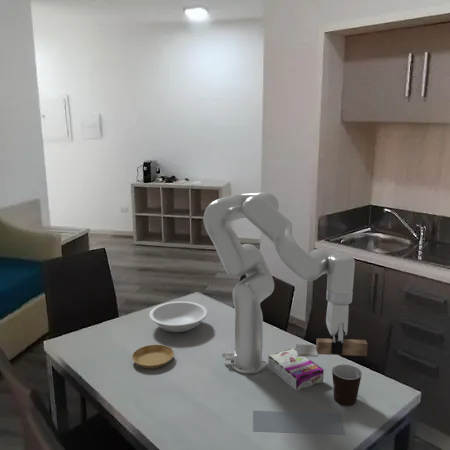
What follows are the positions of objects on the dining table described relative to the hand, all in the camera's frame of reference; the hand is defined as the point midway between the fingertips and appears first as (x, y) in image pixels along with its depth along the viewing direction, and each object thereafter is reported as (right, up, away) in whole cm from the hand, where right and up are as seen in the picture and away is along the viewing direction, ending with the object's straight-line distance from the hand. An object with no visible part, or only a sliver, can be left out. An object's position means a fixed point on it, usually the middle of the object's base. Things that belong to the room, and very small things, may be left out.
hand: (335, 350), depth 139 cm
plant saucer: (-60, -10, +22) cm, 65 cm away
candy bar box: (-7, -11, +5) cm, 14 cm away
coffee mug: (+3, -15, 0) cm, 15 cm away
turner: (-2, -1, 0) cm, 2 cm away
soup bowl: (-53, -4, +48) cm, 72 cm away
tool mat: (-14, -17, -12) cm, 25 cm away
